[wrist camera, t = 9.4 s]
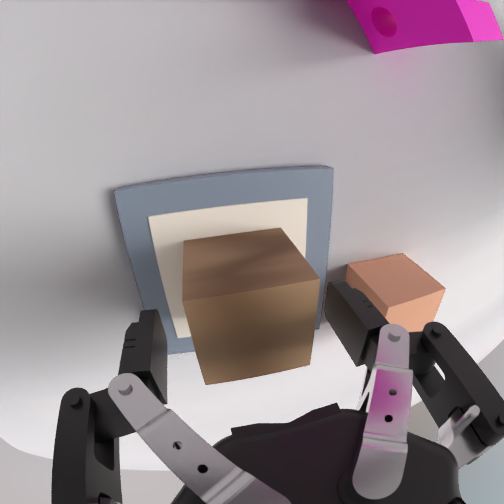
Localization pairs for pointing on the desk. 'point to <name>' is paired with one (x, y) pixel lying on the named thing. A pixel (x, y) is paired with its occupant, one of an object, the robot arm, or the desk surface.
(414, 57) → the desk surface
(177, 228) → the blue bordered cream board
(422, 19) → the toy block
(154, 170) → the desk surface
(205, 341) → the walnut cube
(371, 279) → the terracotta cube
